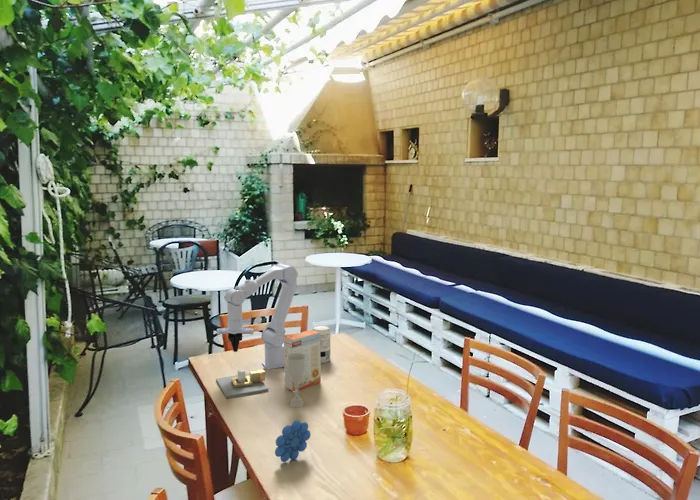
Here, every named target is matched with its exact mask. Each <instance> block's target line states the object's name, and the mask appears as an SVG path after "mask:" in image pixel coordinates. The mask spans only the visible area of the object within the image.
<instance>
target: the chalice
mask: <svg viewBox="0 0 700 500" xmlns="http://www.w3.org/2000/svg"><path fill="white" fill-rule="evenodd" d="M305 357H306V355H305V354H302V353H293V354H289V355H288V356H287V359H288V370H289V373H290V376H291V378H292V380H293V381H295V386H294V387H295V391H294V396H292V398H291V400H290V403H289V406H290V407H294V408H300V407H303V405H305V404H304V402H303V399H302V397H300V395H299V392H300V391H299V390H298V387H299V386H298V381H300V380H301V377H302V375H303V372H304V369H305Z"/></svg>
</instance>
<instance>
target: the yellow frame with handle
mask: <svg viewBox="0 0 700 500" xmlns="http://www.w3.org/2000/svg"><path fill="white" fill-rule="evenodd" d="M260 372H262V373H263V382H265V381H266V371H265V369H258V370H250V371H249V373H250V377H249V376H245V377H246V380H247V382H243V383H237V382H236V381H238V377H237V378H231V381H232V384H233V386H234V387H241V386H248V385H252V383H253V382H260V377H259V373H260Z"/></svg>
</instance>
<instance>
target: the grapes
mask: <svg viewBox="0 0 700 500" xmlns="http://www.w3.org/2000/svg"><path fill="white" fill-rule="evenodd" d="M308 429H309V425H308V422H307V421H303V422H301V420H299V419H295V420H293V422H292V423H291V425H290V424H288V425H285V426H283V428H282V430H281V433H282V435H279V436H277V437H276V439H275V445H276V448H275V450H274V454H275V456H276V457H278V458H279V457H280V458H279V459H280V461H281V462H282V463H286V462H287V461H289V460H291V461H294V460H297V458H299V455H300V453H302V452H304V451H305V450H306V449H307V447H308V443H307V441H308V440H309V439H310V438H311V431H310V430H308Z"/></svg>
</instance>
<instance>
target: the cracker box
mask: <svg viewBox="0 0 700 500" xmlns="http://www.w3.org/2000/svg"><path fill="white" fill-rule="evenodd" d="M283 344H284V367H283V368H284V388H285V389H288V390H289V391H292V392H294V391H295V387H294V386H295V381H293V380H292V378H291V376H290V373H289V370H288V359H287V356H288V355H289V354H293V353H302V354H305V355H306V357H305V369H304V372H303V375H302V377H301V380H300V381H298V386H299V387H298V390H303V389H305V388H308V387H310V386H311V387H312V386H313V385H317V384H319V383H321V382H322V381H321V377H322V375H321V374H322V373H321V369H322V368H321V364H322V363H321V360H320V332H317V331H314V330H313V329H309V330H305V331H301V332H298V333H293V334H290V335H289V334H288V335H286V336H285V337H284V343H283ZM294 393H295V392H294Z"/></svg>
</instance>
